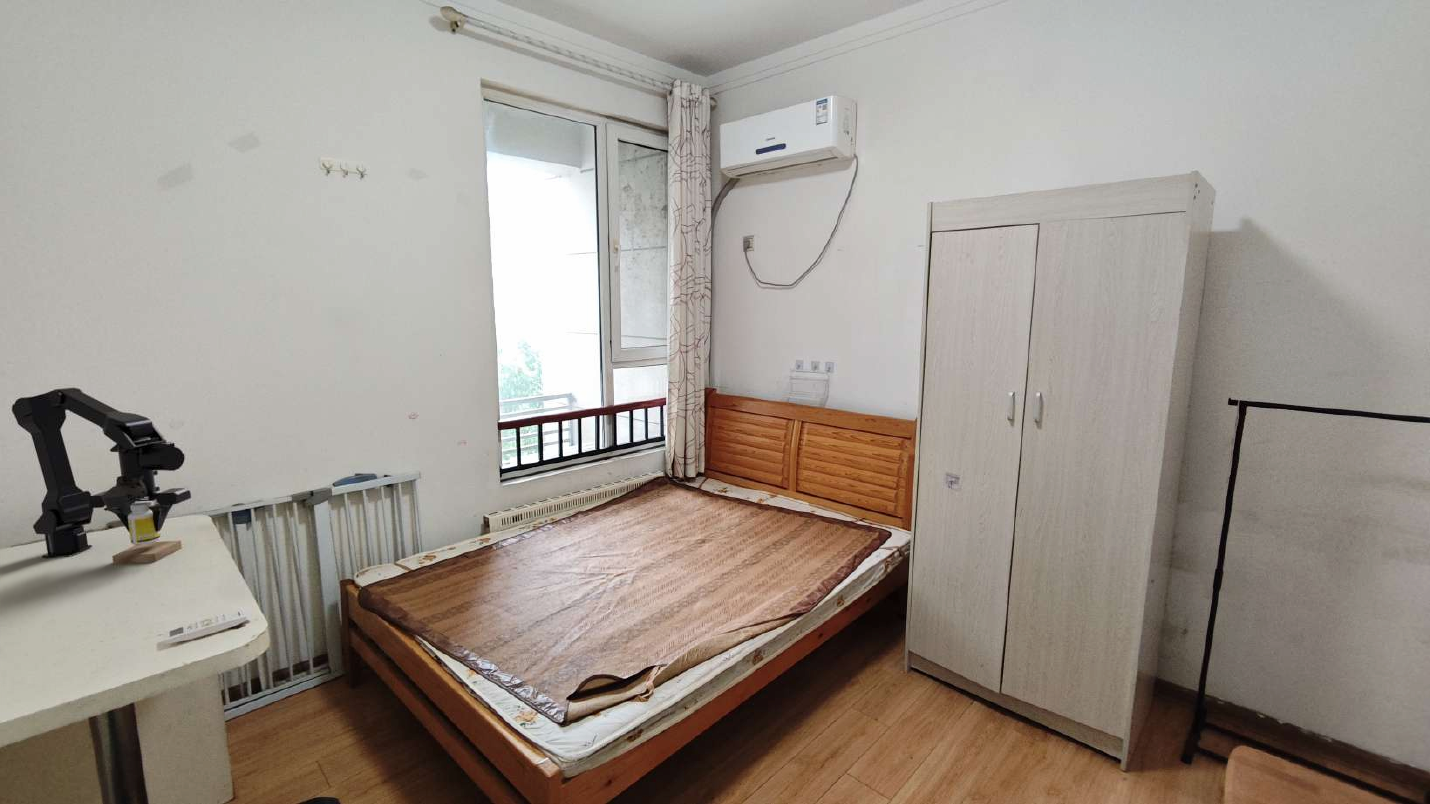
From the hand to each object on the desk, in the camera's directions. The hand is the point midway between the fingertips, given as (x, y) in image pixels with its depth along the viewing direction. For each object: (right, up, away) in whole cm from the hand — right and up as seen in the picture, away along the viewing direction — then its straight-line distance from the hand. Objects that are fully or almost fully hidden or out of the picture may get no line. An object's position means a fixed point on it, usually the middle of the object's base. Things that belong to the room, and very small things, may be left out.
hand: (145, 531), depth 151 cm
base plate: (0, -6, +1) cm, 6 cm away
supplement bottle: (0, -3, 0) cm, 3 cm away
